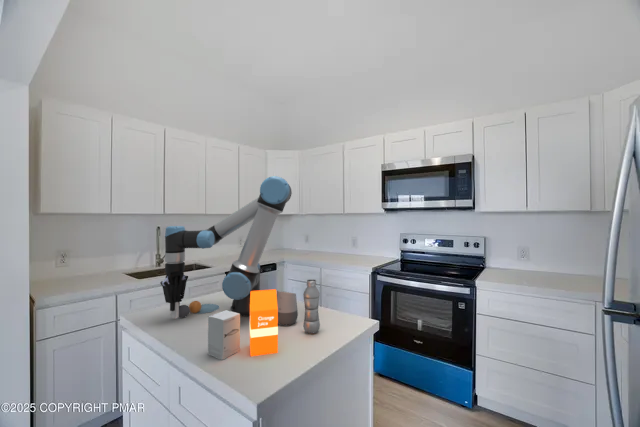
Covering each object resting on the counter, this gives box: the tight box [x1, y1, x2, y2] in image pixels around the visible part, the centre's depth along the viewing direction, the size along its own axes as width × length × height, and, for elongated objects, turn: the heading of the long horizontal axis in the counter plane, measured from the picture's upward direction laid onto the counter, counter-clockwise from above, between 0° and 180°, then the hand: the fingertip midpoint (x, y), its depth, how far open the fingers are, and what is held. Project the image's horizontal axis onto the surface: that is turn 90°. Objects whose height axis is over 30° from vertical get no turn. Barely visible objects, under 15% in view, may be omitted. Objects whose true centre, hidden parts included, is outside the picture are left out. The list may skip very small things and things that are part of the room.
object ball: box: [188, 300, 202, 314], centre depth 130 cm, size 6×6×6 cm
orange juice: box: [249, 288, 279, 357], centre depth 95 cm, size 8×9×20 cm
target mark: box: [189, 303, 220, 315], centre depth 136 cm, size 14×14×1 cm
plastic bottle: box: [302, 279, 321, 334], centre depth 109 cm, size 6×7×20 cm
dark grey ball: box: [178, 304, 191, 319], centre depth 125 cm, size 6×6×6 cm
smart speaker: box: [276, 290, 299, 327], centre depth 118 cm, size 10×9×14 cm
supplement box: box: [207, 309, 241, 361], centre depth 92 cm, size 7×7×13 cm
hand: (174, 317), depth 119 cm, fingers closed
